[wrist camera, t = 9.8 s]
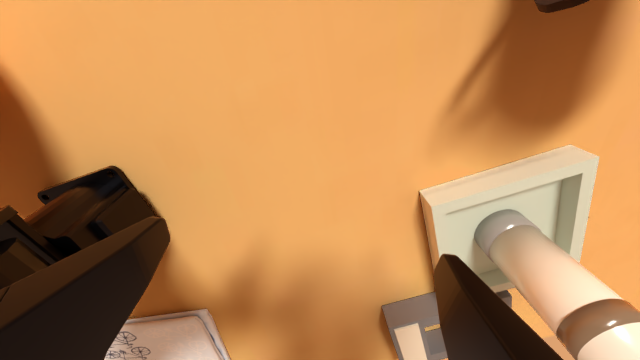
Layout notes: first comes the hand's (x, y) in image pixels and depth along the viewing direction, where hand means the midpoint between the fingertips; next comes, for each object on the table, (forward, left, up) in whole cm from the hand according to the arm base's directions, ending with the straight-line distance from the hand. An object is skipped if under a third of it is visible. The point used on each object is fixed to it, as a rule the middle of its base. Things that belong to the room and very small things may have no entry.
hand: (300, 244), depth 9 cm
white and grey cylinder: (+13, -14, -11) cm, 23 cm away
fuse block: (+7, -25, -12) cm, 29 cm away
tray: (+13, -14, -12) cm, 23 cm away
